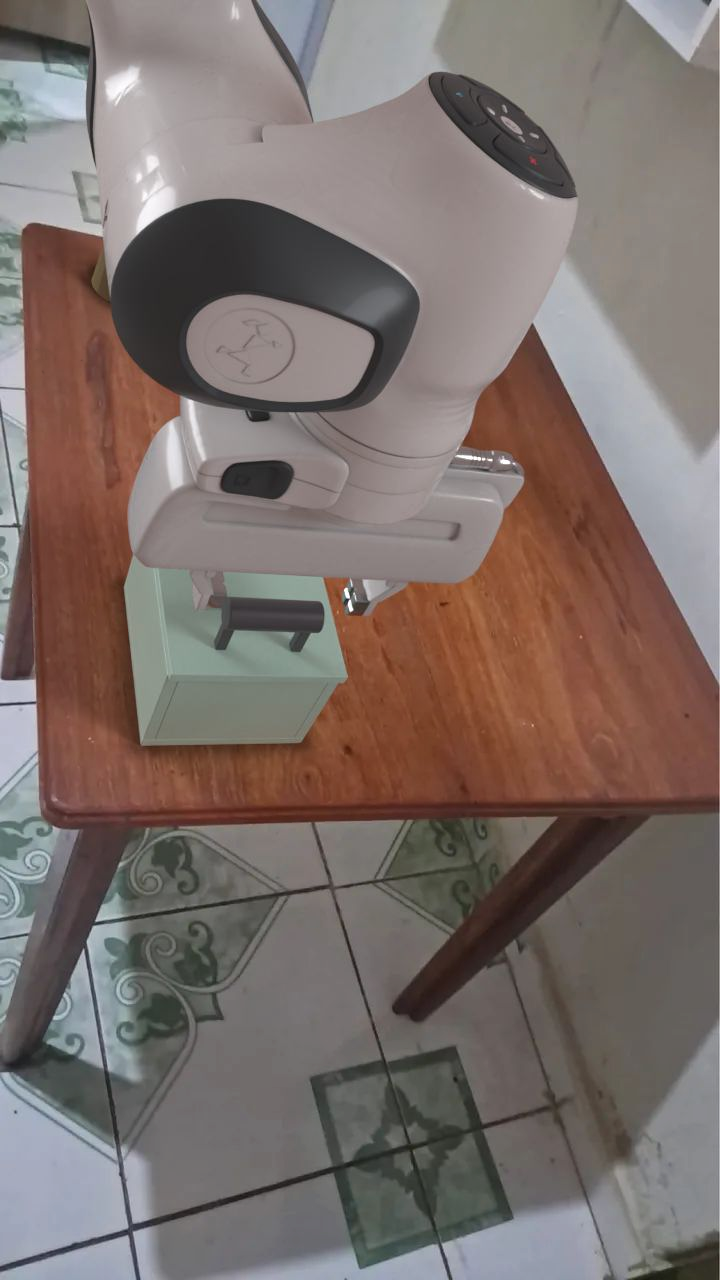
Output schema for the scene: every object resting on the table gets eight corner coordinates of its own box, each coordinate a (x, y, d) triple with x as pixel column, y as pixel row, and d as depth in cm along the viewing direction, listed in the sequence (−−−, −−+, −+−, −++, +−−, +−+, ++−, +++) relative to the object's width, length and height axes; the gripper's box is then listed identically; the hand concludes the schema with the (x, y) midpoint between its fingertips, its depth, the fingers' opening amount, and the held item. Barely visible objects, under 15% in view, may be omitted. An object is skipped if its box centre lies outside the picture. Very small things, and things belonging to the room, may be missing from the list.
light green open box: (300, 743, 69) (342, 677, 63) (140, 746, 64) (167, 675, 58) (269, 594, 76) (304, 522, 70) (123, 587, 72) (145, 508, 65)
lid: (344, 683, 62) (373, 638, 59) (168, 681, 58) (187, 632, 54) (304, 521, 70) (327, 472, 66) (146, 507, 65) (161, 453, 61)
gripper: (520, 417, 53) (422, 572, 63) (152, 365, 45) (107, 554, 55) (557, 501, 50) (447, 651, 60) (166, 462, 41) (116, 644, 52)
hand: (282, 604), depth 57 cm, fingers open, 8 cm apart
